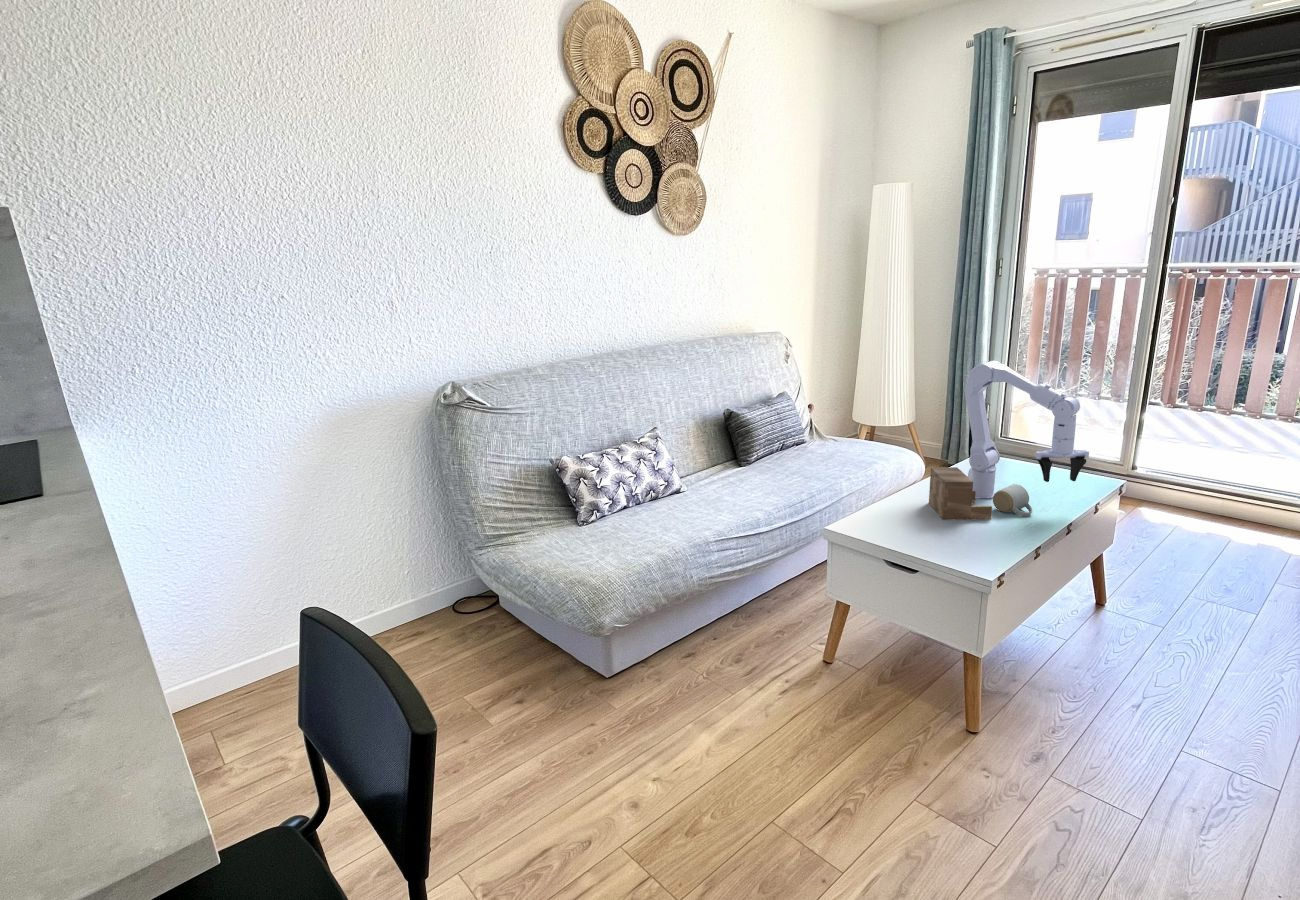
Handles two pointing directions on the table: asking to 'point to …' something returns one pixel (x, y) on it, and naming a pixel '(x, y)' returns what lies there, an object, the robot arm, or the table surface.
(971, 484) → the stepped wooden block
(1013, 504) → the ceramic mug
